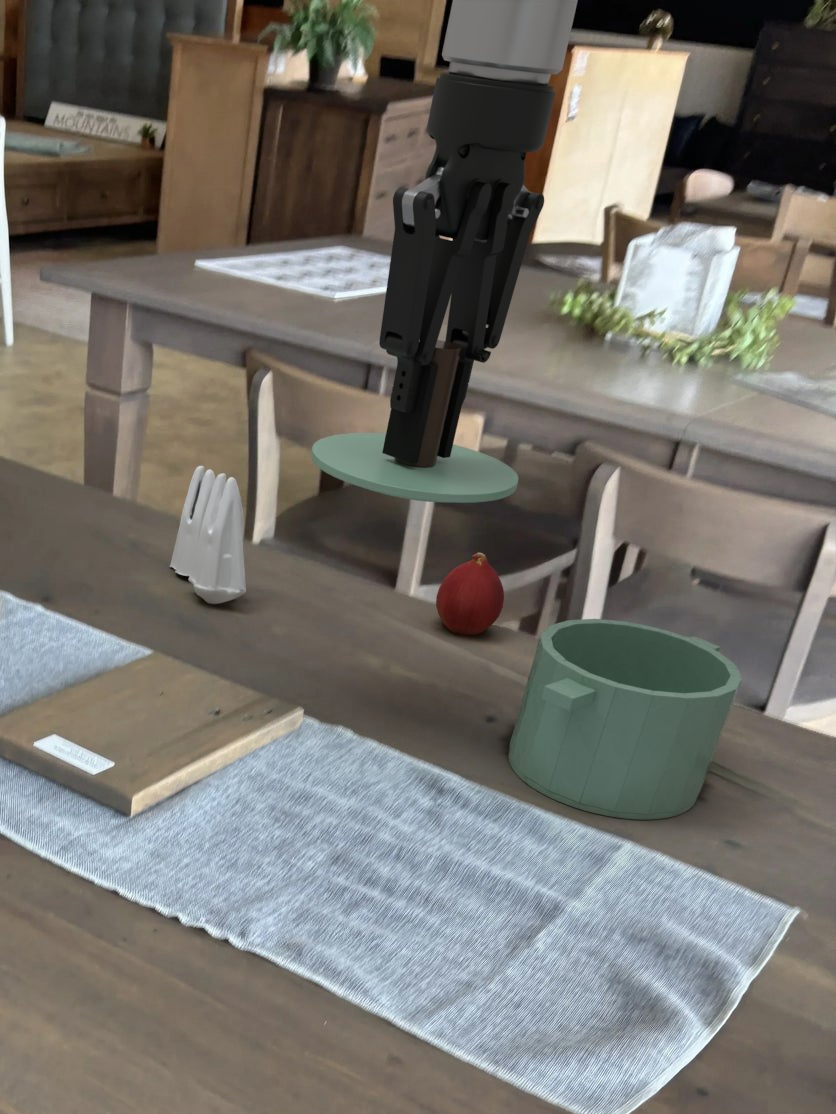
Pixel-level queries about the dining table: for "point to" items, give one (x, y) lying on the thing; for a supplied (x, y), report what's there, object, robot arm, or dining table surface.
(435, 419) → the lid
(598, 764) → the pot
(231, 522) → the gray pronged block
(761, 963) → the dining table surface
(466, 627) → the onion
